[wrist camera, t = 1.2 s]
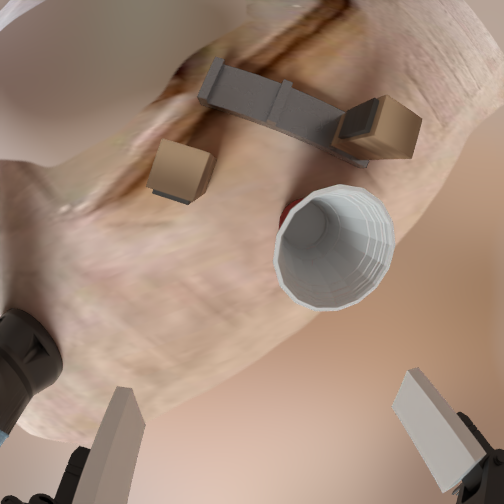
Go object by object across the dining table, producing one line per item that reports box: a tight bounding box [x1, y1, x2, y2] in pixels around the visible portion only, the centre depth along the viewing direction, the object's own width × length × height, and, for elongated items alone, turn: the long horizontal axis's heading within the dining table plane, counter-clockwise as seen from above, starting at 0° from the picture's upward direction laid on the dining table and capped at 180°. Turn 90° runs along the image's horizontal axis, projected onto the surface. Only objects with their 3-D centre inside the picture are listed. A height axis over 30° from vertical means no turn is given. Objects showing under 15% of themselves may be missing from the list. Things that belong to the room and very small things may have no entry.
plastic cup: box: [273, 184, 395, 311], centre depth 26 cm, size 11×11×12 cm
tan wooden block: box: [146, 139, 217, 205], centre depth 25 cm, size 4×4×10 cm
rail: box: [197, 57, 369, 168], centre depth 27 cm, size 20×5×4 cm, turn 70°
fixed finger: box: [331, 95, 422, 160], centre depth 23 cm, size 4×4×10 cm
